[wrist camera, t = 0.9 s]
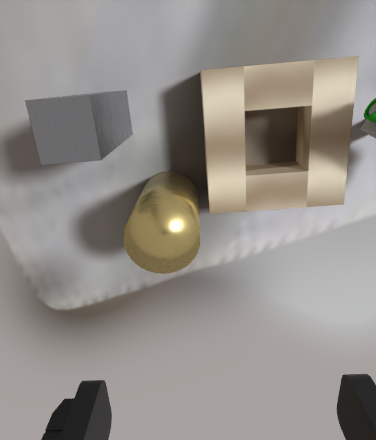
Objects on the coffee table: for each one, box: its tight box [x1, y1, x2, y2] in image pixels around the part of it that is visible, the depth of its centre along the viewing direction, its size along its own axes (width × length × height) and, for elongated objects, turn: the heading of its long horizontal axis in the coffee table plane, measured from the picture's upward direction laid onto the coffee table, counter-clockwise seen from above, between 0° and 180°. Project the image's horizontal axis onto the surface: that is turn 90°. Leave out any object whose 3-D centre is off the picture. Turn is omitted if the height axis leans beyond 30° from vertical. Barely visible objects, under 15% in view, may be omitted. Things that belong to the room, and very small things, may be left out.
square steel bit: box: [25, 91, 132, 165], centre depth 27 cm, size 4×4×12 cm
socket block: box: [200, 56, 359, 214], centre depth 30 cm, size 12×12×5 cm
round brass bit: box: [123, 171, 200, 273], centre depth 31 cm, size 6×6×10 cm
